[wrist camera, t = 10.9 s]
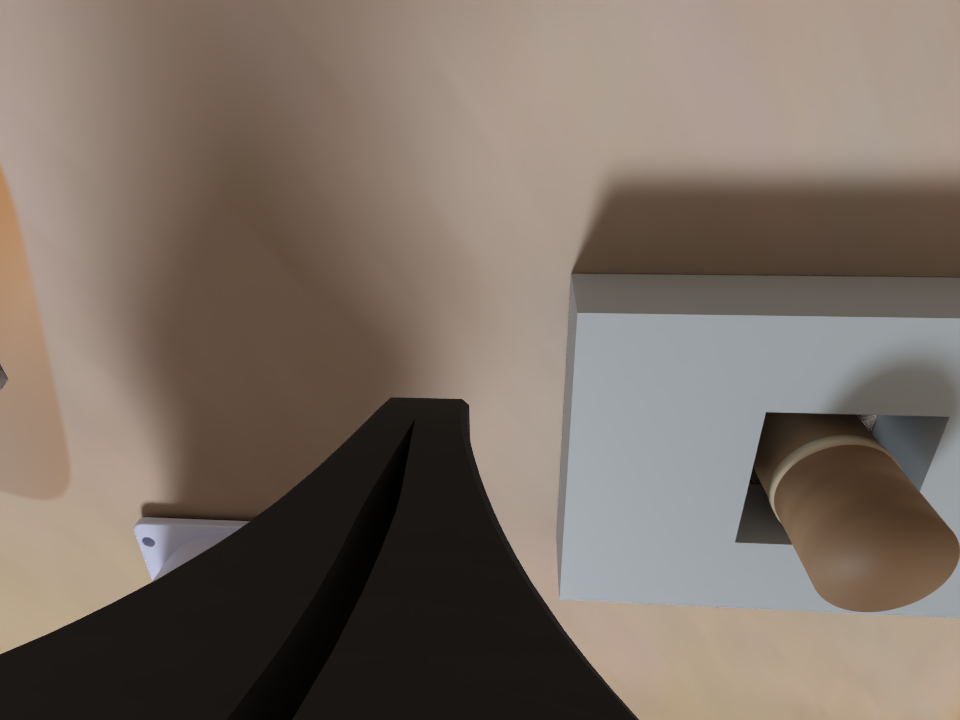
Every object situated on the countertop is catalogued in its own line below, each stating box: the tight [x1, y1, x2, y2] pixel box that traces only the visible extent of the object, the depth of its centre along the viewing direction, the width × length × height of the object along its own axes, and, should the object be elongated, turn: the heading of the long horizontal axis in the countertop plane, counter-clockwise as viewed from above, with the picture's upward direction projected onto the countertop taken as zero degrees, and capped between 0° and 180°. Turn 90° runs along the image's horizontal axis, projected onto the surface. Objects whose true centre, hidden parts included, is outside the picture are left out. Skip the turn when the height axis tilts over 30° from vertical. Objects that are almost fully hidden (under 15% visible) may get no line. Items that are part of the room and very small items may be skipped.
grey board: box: [556, 274, 960, 618], centre depth 20 cm, size 11×16×3 cm
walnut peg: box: [753, 412, 960, 612], centre depth 19 cm, size 4×4×6 cm
